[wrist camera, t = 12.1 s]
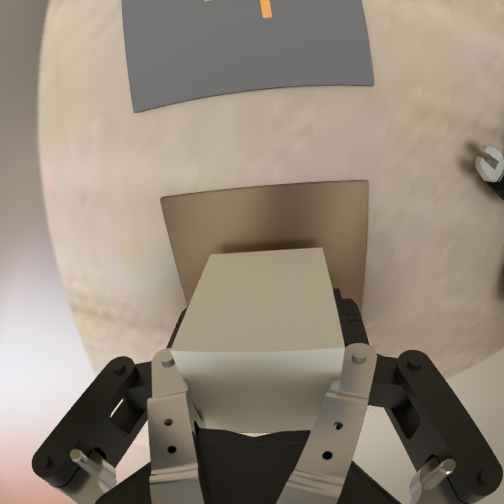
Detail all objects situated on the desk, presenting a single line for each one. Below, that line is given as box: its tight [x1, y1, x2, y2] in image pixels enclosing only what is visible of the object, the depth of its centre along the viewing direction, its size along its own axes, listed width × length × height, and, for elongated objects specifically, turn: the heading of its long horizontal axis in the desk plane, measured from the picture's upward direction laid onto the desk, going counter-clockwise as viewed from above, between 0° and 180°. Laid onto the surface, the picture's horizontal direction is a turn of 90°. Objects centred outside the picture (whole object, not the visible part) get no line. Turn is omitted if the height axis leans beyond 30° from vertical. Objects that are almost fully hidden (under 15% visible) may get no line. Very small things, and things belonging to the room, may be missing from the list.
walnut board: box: [160, 180, 369, 314], centre depth 16 cm, size 10×10×1 cm
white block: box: [170, 247, 345, 433], centre depth 12 cm, size 5×5×6 cm
